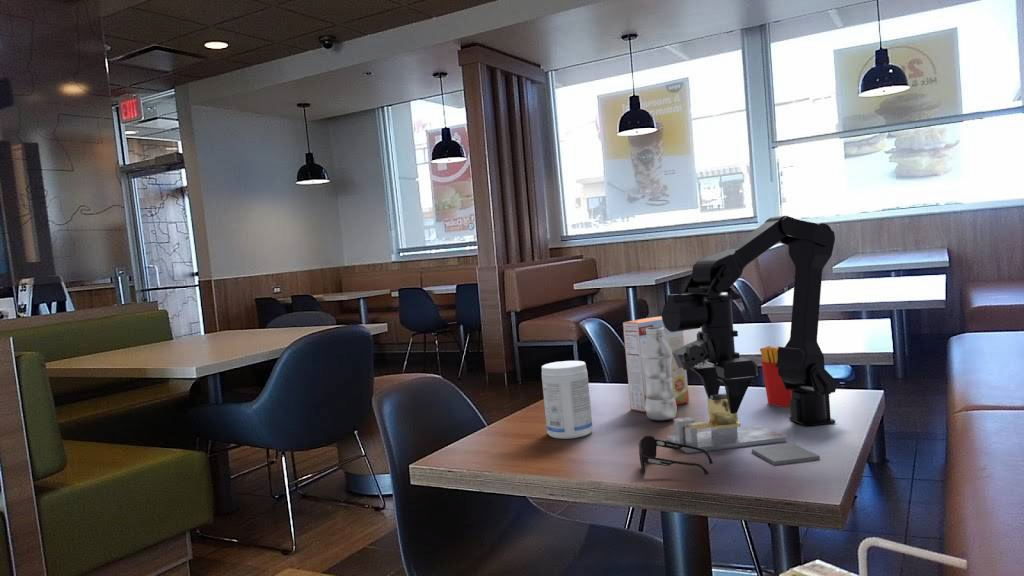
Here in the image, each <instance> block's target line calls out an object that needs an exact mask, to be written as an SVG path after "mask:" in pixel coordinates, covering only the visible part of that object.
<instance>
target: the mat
mask: <svg viewBox="0 0 1024 576" xmlns="http://www.w3.org/2000/svg"><path fill="white" fill-rule="evenodd" d="M751 453H752V454H753V455H756V456H757V457H759V458H761V459H763V460H765V461H766V462H769V463H770V464H772V465H773V466H778V465H779V466H780V465H785V464H786V465H787V464H793V463H794V464H795V463H803V462H811V461H819V460H821V456H820V455H818V454H817V453H814V452H813V451H810V450H808V449H807V448H804V447H802V446H800V445H798V444H796V443H792V444H784V445H776V446H768V447H767V446H766V447H760V448H751Z"/></svg>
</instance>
